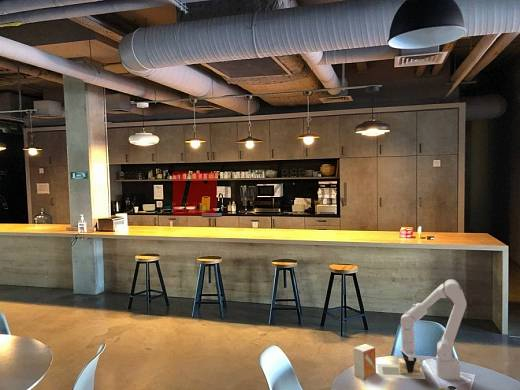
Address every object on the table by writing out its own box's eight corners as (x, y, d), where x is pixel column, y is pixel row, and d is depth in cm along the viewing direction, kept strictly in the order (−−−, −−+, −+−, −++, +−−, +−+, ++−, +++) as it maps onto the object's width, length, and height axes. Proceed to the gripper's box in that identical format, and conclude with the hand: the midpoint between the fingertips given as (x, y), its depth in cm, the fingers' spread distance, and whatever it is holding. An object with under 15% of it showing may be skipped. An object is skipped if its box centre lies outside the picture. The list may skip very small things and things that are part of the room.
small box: (364, 380, 192) (363, 351, 192) (354, 375, 198) (352, 347, 197) (376, 374, 197) (375, 347, 196) (366, 370, 202) (365, 343, 202)
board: (420, 367, 202) (420, 365, 202) (426, 381, 188) (425, 379, 188) (377, 366, 206) (376, 364, 206) (379, 379, 192) (379, 377, 192)
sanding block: (418, 369, 198) (418, 358, 198) (420, 374, 193) (420, 363, 193) (398, 368, 200) (398, 358, 199) (399, 373, 195) (399, 362, 195)
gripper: (397, 334, 204) (398, 362, 204) (401, 346, 190) (402, 376, 190) (412, 335, 202) (413, 363, 203) (417, 346, 188) (419, 376, 189)
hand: (409, 369), depth 196 cm, fingers closed on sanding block, 5 cm apart
